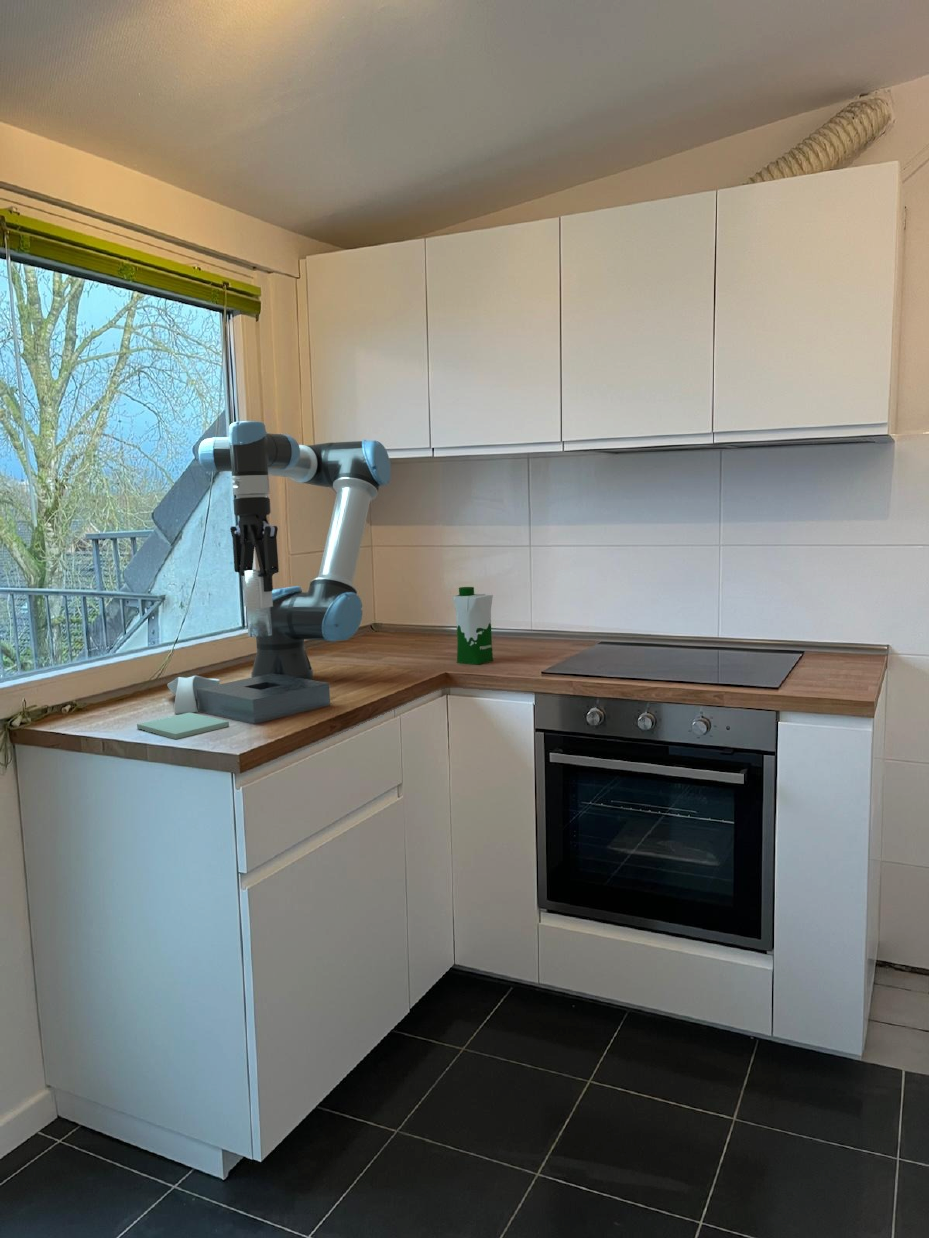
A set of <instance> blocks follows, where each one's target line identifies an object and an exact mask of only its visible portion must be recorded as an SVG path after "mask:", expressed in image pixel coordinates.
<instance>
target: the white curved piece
mask: <svg viewBox="0 0 929 1238" xmlns="http://www.w3.org/2000/svg"><path fill="white" fill-rule="evenodd" d="M218 684H221V680H220V679H219V678H206V677H204V676H200V675H192V676H189V677H182V676H179V677H176V678H174V680H172V681H170V682H168V683H167V684H166V685H167V687H168V689H169V691H170V692H171V693H172V694H173V695H175V698H174V704H173V705H174V707H173V709H174V710H173V711H174V715H175V714H176V715H180V714H185V713H189V712H190V713H194V714H195V713H197V712H198V705H197V702H196V701H198V699H197V689H198V688H203V687H208V686H213V685H218Z"/></svg>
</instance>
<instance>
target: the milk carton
mask: <svg viewBox="0 0 929 1238" xmlns="http://www.w3.org/2000/svg"><path fill="white" fill-rule="evenodd" d="M493 596H494V595H493V594H486V593H475V587H474V586H462V587H461V586H460V587H459V588H458V595H454V596H453V597H452V599H453V605H454V608H455V613H456V616H455V617H456V640H457V645H456V647H457V650H456V663H458V664H465V665H466V664H467V665H474V664H475V665H476V666H478V665H483V664H487V663H490V662H494V655H493V644H492V641H493V639H492V603H493V598H494V597H493Z"/></svg>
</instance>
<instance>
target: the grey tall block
mask: <svg viewBox="0 0 929 1238" xmlns="http://www.w3.org/2000/svg"><path fill="white" fill-rule="evenodd" d="M265 570H266V569H265ZM259 574H261V573H260V568H258V569H257V568H256V569H255V568H254V569H252V570H245V571H244V577H245V592H246V606H245V607H246V618H247V619H246V621H247V634H248V637H249V638H250V637H251V638H256V637H265V636H270V635H272V623H271V607H265V608H260V596H259V580H258V577H259V576H258V575H259Z"/></svg>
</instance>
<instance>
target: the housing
mask: <svg viewBox="0 0 929 1238" xmlns="http://www.w3.org/2000/svg"><path fill="white" fill-rule="evenodd" d="M330 691H331V690H330V682H326V681H320V680H314V679H312V680H309V679H303V678H297V677H290V676H284V675H278V674H268V675H263V676H258V677H253V678H251V677H248V678H243V679H237V680H235V681H233V680H232V681H228V682H224V683H219V684H218V685H213V686H208V687H203V688H198V689H197V699H198V700H197V712H199V713H204V714H208V715H213V716H217V717H220V718H226V719H231V720H233V721H238V722H243V723H248V724H253V725H255V724H256V725H257V724H260V723H265V722H269V721H272V720H273V721H274V720H277V719H281V718H284V717H289V716H292V715H297V714H301V713H305V712H309V711H312V710H317V709H321V708H326V707H330V706H331V696H330V693H331V692H330Z"/></svg>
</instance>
